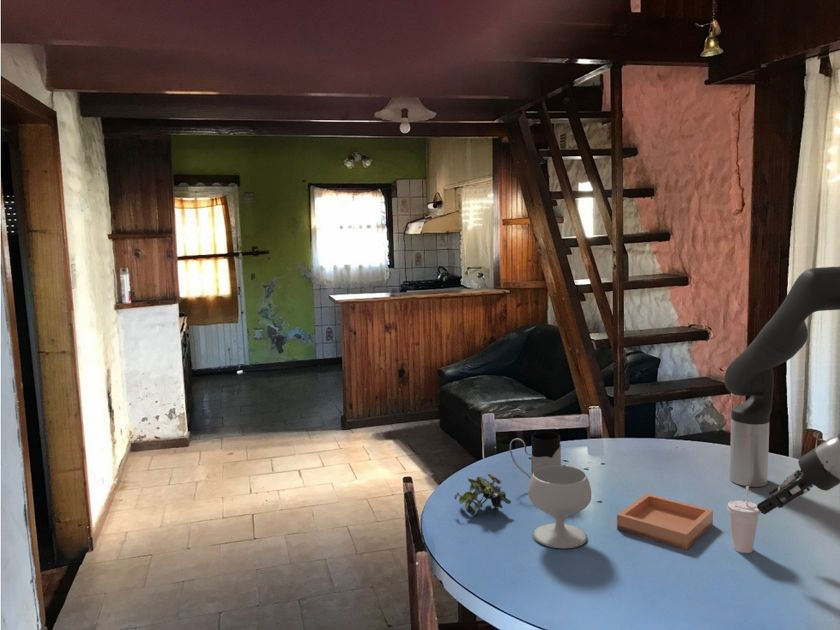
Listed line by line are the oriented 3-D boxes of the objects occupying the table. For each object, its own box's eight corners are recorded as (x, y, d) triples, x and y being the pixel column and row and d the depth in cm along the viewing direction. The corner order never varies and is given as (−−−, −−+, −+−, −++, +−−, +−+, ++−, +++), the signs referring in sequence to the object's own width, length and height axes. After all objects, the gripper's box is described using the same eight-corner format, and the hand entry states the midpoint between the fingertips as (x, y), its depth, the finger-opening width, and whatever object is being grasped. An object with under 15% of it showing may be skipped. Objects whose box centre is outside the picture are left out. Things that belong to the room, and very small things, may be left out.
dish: (646, 506, 162) (646, 493, 162) (712, 524, 151) (713, 510, 151) (617, 529, 151) (617, 514, 150) (686, 549, 140) (686, 534, 140)
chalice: (555, 558, 138) (554, 490, 136) (516, 532, 151) (515, 470, 149) (604, 542, 145) (605, 477, 143) (563, 519, 157) (563, 459, 155)
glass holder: (560, 497, 170) (560, 442, 168) (507, 492, 175) (506, 438, 173) (564, 485, 178) (564, 432, 176) (513, 480, 183) (512, 428, 181)
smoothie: (763, 557, 136) (765, 493, 134) (730, 555, 137) (732, 491, 135) (754, 542, 142) (756, 481, 140) (723, 541, 143) (724, 480, 142)
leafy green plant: (495, 528, 165) (521, 495, 161) (469, 535, 157) (496, 502, 153) (468, 494, 172) (493, 462, 167) (442, 499, 164) (467, 466, 159)
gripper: (825, 437, 133) (762, 478, 142) (808, 456, 123) (742, 498, 132) (855, 468, 130) (789, 507, 139) (840, 489, 120) (769, 531, 129)
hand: (766, 503), depth 135 cm, fingers open, 8 cm apart
